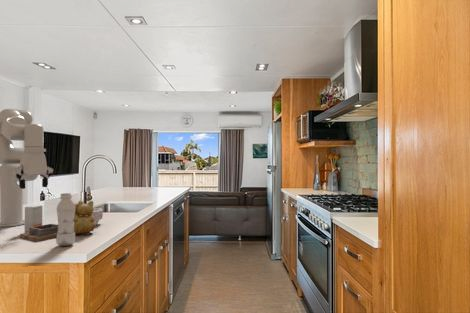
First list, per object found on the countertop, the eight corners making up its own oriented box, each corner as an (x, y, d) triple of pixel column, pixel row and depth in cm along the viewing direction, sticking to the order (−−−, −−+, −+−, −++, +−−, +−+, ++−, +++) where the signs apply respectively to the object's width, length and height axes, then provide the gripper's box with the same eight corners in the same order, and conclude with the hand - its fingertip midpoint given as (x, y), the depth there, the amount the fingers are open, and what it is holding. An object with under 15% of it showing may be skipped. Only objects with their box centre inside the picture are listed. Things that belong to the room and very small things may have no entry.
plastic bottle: (60, 243, 126) (60, 193, 126) (78, 243, 126) (78, 192, 126) (52, 248, 119) (52, 194, 119) (71, 247, 120) (71, 194, 120)
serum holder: (20, 237, 136) (20, 228, 136) (55, 230, 149) (55, 222, 149) (37, 241, 129) (37, 231, 129) (72, 234, 142) (72, 225, 142)
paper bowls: (109, 224, 164) (109, 208, 164) (81, 229, 151) (81, 213, 151) (91, 221, 172) (91, 206, 172) (63, 226, 159) (63, 210, 159)
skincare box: (32, 233, 143) (32, 207, 143) (24, 233, 144) (24, 206, 144) (42, 230, 149) (42, 205, 149) (35, 230, 150) (35, 205, 150)
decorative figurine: (96, 231, 147) (96, 199, 147) (94, 235, 139) (94, 201, 139) (73, 233, 144) (73, 200, 144) (69, 237, 136) (69, 202, 136)
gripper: (48, 151, 156) (48, 186, 156) (8, 150, 141) (9, 189, 141) (57, 151, 152) (57, 186, 152) (17, 150, 137) (17, 189, 137)
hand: (34, 187), depth 146 cm, fingers open, 9 cm apart
